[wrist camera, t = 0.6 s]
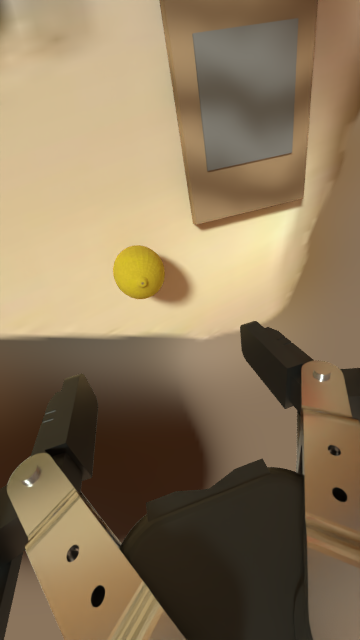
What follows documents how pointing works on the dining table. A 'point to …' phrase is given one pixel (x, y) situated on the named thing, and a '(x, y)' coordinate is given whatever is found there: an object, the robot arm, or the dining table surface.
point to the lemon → (138, 272)
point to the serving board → (241, 99)
